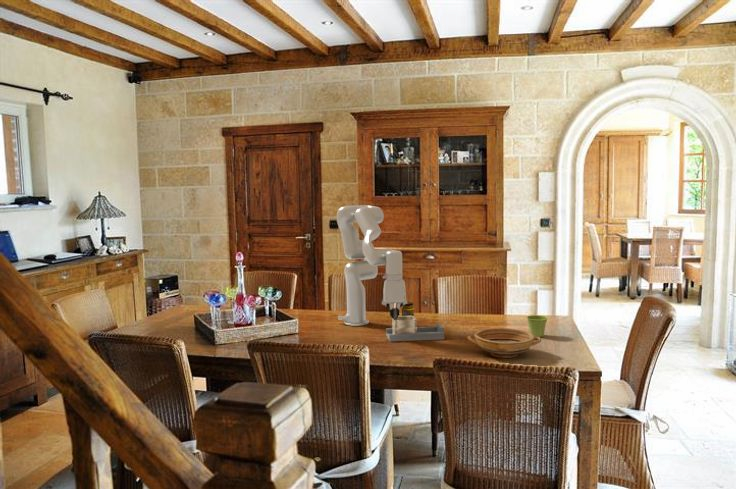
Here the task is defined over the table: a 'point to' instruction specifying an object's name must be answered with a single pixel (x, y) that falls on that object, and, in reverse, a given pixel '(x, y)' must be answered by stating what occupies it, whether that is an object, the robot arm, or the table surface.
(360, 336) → the table surface
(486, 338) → the ceramic bowl
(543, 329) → the plant pot
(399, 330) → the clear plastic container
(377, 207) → the robot arm
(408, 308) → the condiment
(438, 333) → the bay
